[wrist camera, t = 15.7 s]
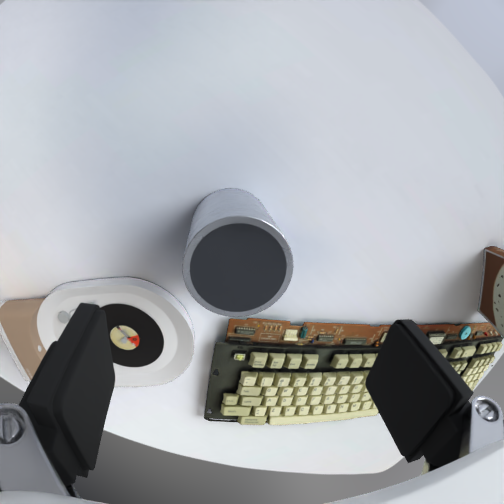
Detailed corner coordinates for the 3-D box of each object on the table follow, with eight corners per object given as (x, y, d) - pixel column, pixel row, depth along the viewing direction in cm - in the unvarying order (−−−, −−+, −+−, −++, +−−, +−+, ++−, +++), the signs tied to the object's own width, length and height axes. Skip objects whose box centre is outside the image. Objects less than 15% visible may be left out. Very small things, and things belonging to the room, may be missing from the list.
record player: (-14, 301, 20) (180, 286, 22) (1, 287, 23) (182, 269, 25) (32, 392, 24) (204, 394, 26) (41, 374, 27) (203, 372, 29)
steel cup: (195, 184, 22) (186, 210, 15) (274, 193, 23) (303, 222, 16) (189, 258, 24) (180, 313, 17) (262, 265, 25) (282, 320, 18)
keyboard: (202, 411, 31) (203, 428, 29) (219, 306, 26) (220, 323, 24) (468, 390, 39) (475, 399, 37) (509, 320, 34) (519, 328, 32)
